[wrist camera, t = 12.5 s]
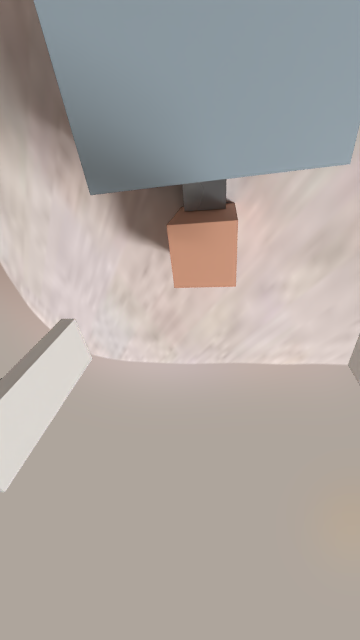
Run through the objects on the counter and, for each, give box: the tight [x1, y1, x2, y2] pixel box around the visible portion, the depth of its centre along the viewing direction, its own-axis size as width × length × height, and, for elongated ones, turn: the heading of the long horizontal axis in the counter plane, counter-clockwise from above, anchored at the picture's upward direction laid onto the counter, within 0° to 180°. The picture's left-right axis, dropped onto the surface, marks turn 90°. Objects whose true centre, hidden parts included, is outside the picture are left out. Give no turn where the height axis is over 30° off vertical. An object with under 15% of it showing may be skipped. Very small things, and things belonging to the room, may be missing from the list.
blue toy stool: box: [34, 0, 360, 195], centre depth 13 cm, size 11×13×10 cm
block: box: [167, 203, 238, 288], centre depth 21 cm, size 5×5×7 cm
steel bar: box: [182, 179, 226, 211], centre depth 16 cm, size 18×4×3 cm, turn 5°
